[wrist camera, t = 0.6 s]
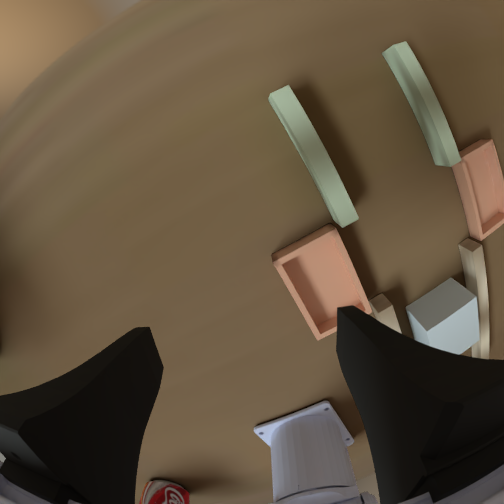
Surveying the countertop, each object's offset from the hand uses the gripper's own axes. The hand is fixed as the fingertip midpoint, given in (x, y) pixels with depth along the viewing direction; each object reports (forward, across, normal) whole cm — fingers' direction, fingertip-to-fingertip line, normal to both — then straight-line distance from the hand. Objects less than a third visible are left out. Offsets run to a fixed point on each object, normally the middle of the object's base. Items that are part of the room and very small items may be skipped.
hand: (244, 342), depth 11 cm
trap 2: (+10, -19, -4) cm, 22 cm away
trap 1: (+10, -5, +2) cm, 11 cm away
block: (+10, -15, +7) cm, 20 cm away
